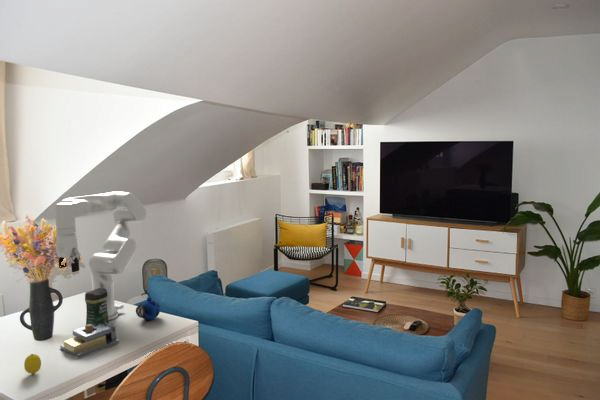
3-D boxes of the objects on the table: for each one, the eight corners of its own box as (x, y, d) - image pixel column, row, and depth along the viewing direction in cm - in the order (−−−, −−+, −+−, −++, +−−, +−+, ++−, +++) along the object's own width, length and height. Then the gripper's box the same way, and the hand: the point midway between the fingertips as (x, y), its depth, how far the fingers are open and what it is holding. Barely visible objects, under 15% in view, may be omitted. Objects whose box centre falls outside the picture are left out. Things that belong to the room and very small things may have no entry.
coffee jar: (96, 334, 221) (94, 294, 218) (83, 331, 224) (80, 291, 221) (112, 326, 230) (110, 287, 227) (99, 323, 233) (97, 285, 230)
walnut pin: (91, 343, 211) (90, 323, 210) (95, 345, 209) (94, 325, 208) (84, 346, 209) (83, 325, 208) (88, 348, 207) (87, 327, 206)
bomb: (132, 320, 237) (131, 290, 234) (151, 314, 245) (150, 284, 243) (145, 325, 231) (144, 294, 229) (164, 318, 240) (163, 288, 238)
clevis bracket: (100, 334, 220) (99, 319, 219) (118, 343, 212) (118, 327, 211) (60, 348, 206) (59, 332, 205) (78, 358, 198) (77, 341, 197)
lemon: (37, 369, 189) (36, 349, 188) (44, 373, 185) (43, 353, 184) (22, 374, 185) (20, 354, 183) (28, 379, 181) (27, 358, 180)
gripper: (47, 230, 216) (50, 268, 219) (69, 235, 206) (72, 275, 209) (63, 227, 222) (66, 264, 225) (85, 232, 212) (88, 270, 215)
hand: (69, 269), depth 217 cm, fingers open, 9 cm apart
